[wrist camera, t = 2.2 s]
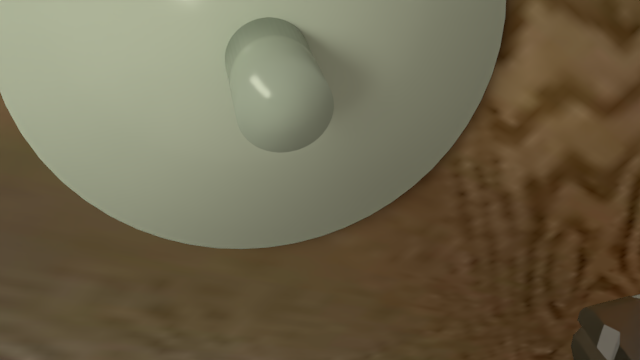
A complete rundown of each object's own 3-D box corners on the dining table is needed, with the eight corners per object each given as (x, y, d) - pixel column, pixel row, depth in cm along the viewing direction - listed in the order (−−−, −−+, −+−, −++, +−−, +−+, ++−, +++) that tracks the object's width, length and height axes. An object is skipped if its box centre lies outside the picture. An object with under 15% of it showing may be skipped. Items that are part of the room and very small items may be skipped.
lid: (475, 188, 30) (524, 258, 26) (92, 268, 28) (81, 358, 24) (518, -288, 19) (619, -295, 15) (-126, -216, 16) (-220, -200, 12)
